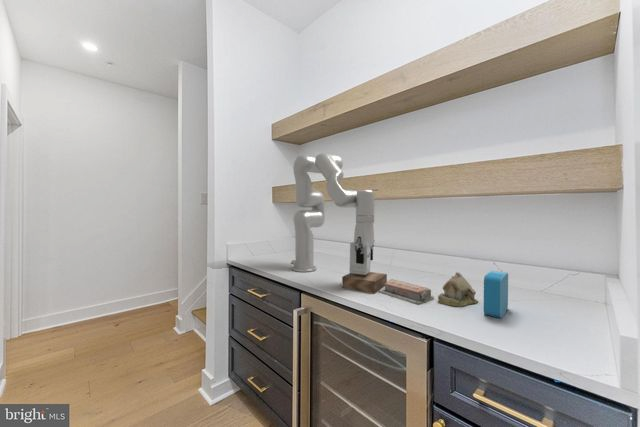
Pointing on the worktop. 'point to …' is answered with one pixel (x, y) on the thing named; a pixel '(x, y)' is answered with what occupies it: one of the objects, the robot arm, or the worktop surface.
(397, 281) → the packaged product
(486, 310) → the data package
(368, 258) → the supplement box
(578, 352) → the worktop surface
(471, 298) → the ceramic model
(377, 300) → the worktop surface
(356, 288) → the walnut block
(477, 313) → the worktop surface
